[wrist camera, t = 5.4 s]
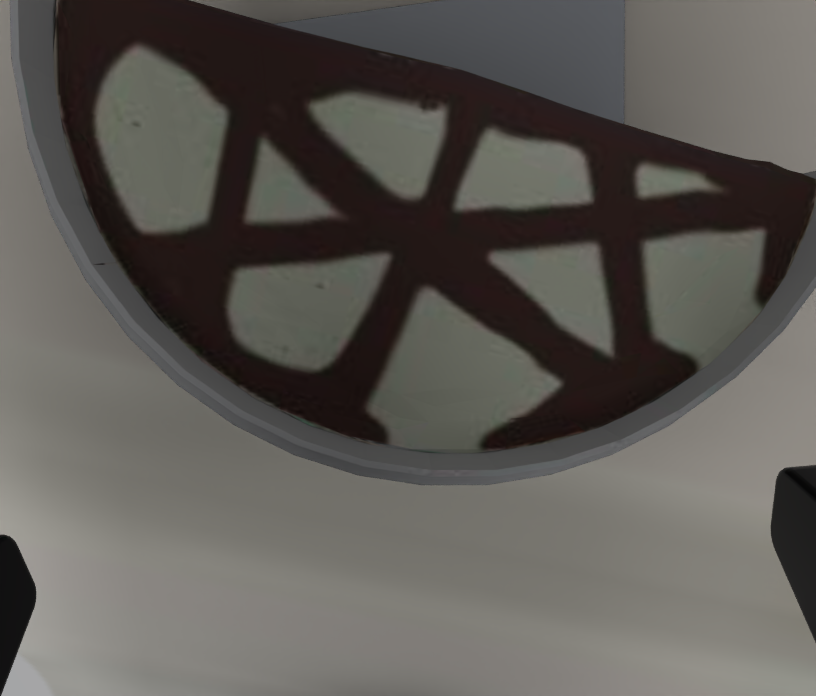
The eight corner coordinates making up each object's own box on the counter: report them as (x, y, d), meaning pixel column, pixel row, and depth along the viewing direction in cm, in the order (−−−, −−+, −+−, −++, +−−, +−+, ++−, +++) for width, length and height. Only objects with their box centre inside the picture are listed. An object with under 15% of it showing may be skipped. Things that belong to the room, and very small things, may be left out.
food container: (131, 346, 18) (-136, 399, 8) (184, 119, 18) (-29, -102, 8) (568, 451, 19) (787, 608, 10) (625, 238, 19) (913, 170, 9)
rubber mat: (619, 234, 20) (623, 238, 19) (208, 280, 20) (204, 285, 20) (620, -24, 17) (625, -25, 17) (147, 41, 18) (141, 42, 17)
